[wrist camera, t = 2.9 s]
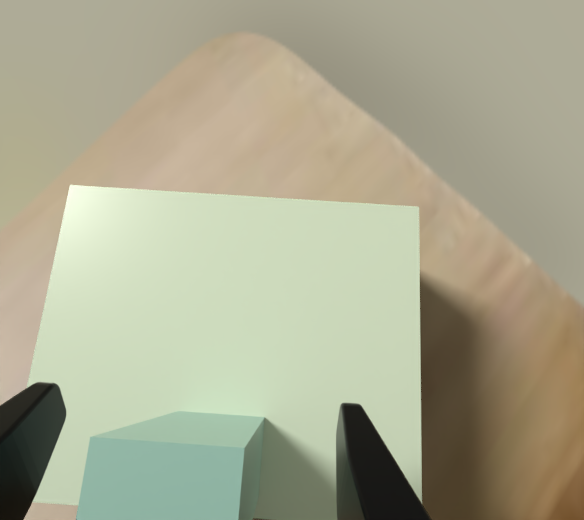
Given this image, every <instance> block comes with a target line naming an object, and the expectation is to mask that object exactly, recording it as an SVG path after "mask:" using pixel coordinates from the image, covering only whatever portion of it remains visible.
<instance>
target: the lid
mask: <svg viewBox="0 0 584 520" xmlns="http://www.w3.org/2000/svg"><path fill="white" fill-rule="evenodd" d="M37 382H49V383H56V384H57V385H58V386H59V387H60V390H61V394H62V397H63V400H64V404H65V407H66V419H65V423H64V425H63V428H62V430H61V433H60V435H59V438H58V441H57V443H56V446H55V448H54V451H53V453H52V456H51V458H50V461H49V464H48V466H47V469H46V471H45V474H44V476H43V479H42V481H41V484H40V486H39V489H38V491H37V493H36V495H35V497H34V500H33V502H37V503H51V504H65V505H78V510H77V516H76V520H253V518H258V519H271V520H337V503H336V430H337V423H338V416H339V409H340V405H341V404H342V403H358V404H360V405H361V406H362V407H363V409H364V410H365V412H366V413H367V415H368V417H369V418H370V420H371V422H372V423H373V425H374V426H375V428H376V430H377V431H378V433H379V435H380V436H381V438H382V439H383V441H384V443H385V444H386V446H387V448H388V449H389V451H390V453H391V454H392V456H393V457H394V459H395V461H396V462H397V464H398V466H399V467H400V469H401V470H402V472H403V474H404V475H405V477H406V479H407V480H408V482H409V483H410V485H411V487H412V488H413V490H414V492H415V493H416V495H417V497H418V498H419V500H420V501H421V503H422V453H421V355H420V257H419V207H414V206H398V205H382V204H366V203H350V202H334V201H318V200H302V199H286V198H270V197H254V196H238V195H222V194H206V193H190V192H174V191H158V190H142V189H126V188H110V187H94V186H78V185H70V188H69V193H68V197H67V202H66V207H65V211H64V216H63V221H62V225H61V230H60V235H59V239H58V244H57V249H56V253H55V258H54V263H53V267H52V272H51V277H50V281H49V286H48V291H47V295H46V300H45V305H44V309H43V314H42V319H41V323H40V328H39V333H38V337H37V342H36V347H35V351H34V356H33V361H32V365H31V370H30V375H29V379H28V384H27V388H28V387H29V386H31V385H32V384H34V383H37Z"/></svg>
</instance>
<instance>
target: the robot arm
mask: <svg viewBox="0 0 584 520" xmlns="http://www.w3.org/2000/svg"><path fill="white" fill-rule="evenodd" d="M65 419H66V407H65V404H64V400H63V397H62V394H61V390H60V387H59V386H58V385H57V384H56V383H49V382H37V383H34V384H32V385H31V386H29V387H28V388H26V389H25V390H23V391H22V392H20V393H19V394H17V395H16V396H14V397H12V398H11V399H9V400H8V401H6V402H5V403H3V404H2V405H0V520H23V519H24V517H25V516H26V514H27V512H28V510H29V508H30V506H31V504H32V502H33V500H34V497H35V495H36V493H37V491H38V489H39V486H40V484H41V481H42V479H43V476H44V474H45V471H46V469H47V466H48V464H49V461H50V458H51V456H52V453H53V451H54V448H55V446H56V443H57V441H58V438H59V435H60V433H61V430H62V428H63V425H64V423H65ZM336 503H337V520H432V519H431V518H430V516H429V514H428V513H427V511H426V510H425V508H424V506H423V505H422V503H421V501H420V500H419V498H418V497H417V495H416V493H415V492H414V490H413V488H412V487H411V485H410V483H409V482H408V480H407V479H406V477H405V475H404V474H403V472H402V470H401V469H400V467H399V466H398V464H397V462H396V461H395V459H394V457H393V456H392V454H391V453H390V451H389V449H388V448H387V446H386V444H385V443H384V441H383V439H382V438H381V436H380V435H379V433H378V431H377V430H376V428H375V426H374V425H373V423H372V422H371V420H370V418H369V417H368V415H367V413H366V412H365V410H364V409H363V407H362V406H361V405H360V404H358V403H342V404H341V405H340V409H339V416H338V423H337V430H336Z"/></svg>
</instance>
